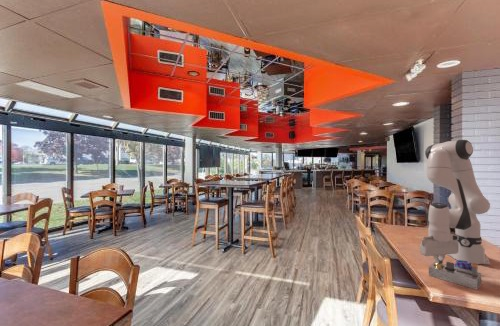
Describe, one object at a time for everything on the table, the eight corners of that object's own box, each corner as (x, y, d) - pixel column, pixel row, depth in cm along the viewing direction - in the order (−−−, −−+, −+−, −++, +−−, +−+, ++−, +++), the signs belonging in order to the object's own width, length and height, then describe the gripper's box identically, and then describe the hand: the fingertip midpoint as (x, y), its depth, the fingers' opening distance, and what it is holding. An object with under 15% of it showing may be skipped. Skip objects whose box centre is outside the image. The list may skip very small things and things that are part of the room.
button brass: (436, 268, 125) (436, 261, 125) (443, 270, 123) (443, 263, 123) (434, 269, 123) (434, 263, 123) (441, 272, 121) (441, 264, 121)
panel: (434, 270, 128) (434, 261, 128) (481, 283, 114) (481, 273, 114) (428, 275, 122) (428, 266, 122) (477, 290, 108) (477, 279, 108)
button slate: (447, 268, 122) (447, 261, 122) (454, 270, 119) (454, 263, 119) (445, 270, 120) (445, 263, 120) (453, 272, 117) (453, 265, 117)
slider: (473, 273, 114) (473, 262, 114) (477, 274, 113) (477, 263, 113) (472, 275, 112) (472, 264, 112) (476, 276, 111) (476, 265, 111)
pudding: (463, 266, 133) (463, 257, 133) (486, 277, 121) (486, 266, 121) (443, 267, 133) (443, 257, 133) (463, 277, 121) (463, 267, 121)
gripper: (427, 239, 118) (427, 267, 118) (461, 236, 122) (461, 263, 122) (416, 235, 124) (416, 262, 124) (448, 232, 128) (448, 258, 128)
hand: (439, 263), depth 123 cm, fingers closed
